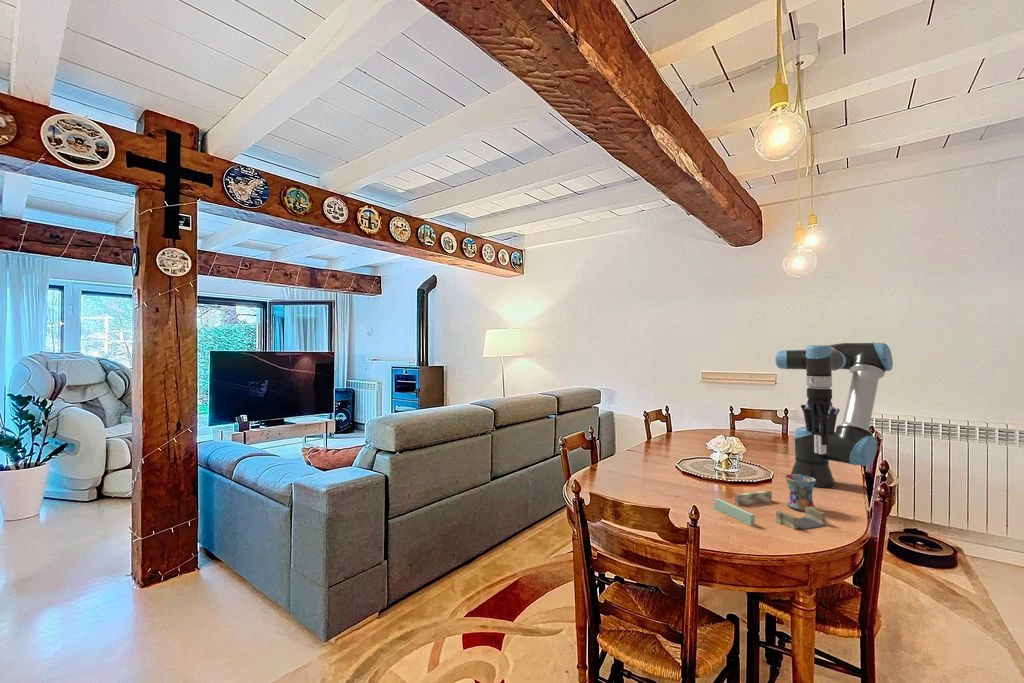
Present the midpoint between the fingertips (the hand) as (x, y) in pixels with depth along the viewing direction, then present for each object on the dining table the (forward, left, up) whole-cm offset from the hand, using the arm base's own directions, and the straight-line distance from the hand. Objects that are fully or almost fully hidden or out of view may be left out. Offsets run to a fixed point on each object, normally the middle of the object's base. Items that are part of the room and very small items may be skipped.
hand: (820, 453), depth 159 cm
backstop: (+39, 0, -18) cm, 43 cm away
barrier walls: (+22, +2, -18) cm, 28 cm away
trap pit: (+22, +12, -18) cm, 31 cm away
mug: (+9, 0, -19) cm, 21 cm away
